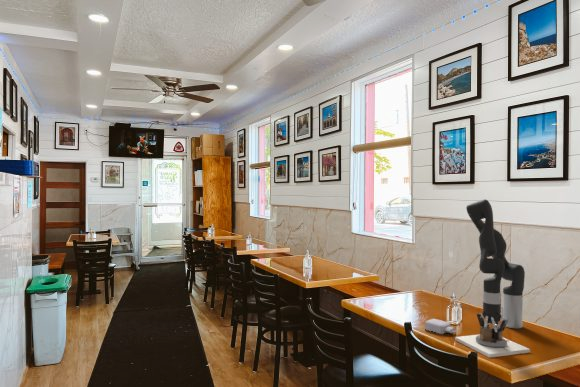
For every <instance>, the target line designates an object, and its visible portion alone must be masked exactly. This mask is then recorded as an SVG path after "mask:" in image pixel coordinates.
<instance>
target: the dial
mask: <svg viewBox="0 0 580 387" xmlns="http://www.w3.org/2000/svg"><path fill="white" fill-rule="evenodd" d="M494 332H495V329H494V327H493V326H489V327H481V326H480V327H479V334H480V335H479V334H477V335H478V336H476V342H477V343H479V344H481V345H483V346H487V347H493V348H503V347H506V346H507V341H506V340H505V339H506V338H505V337H504V335H503V334H504V333H503V332H504V331H502V332H499V339H498V340H495V339H494ZM502 337H503V338H502ZM504 338H505V339H504Z"/></svg>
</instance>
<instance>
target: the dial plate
mask: <svg viewBox="0 0 580 387" xmlns="http://www.w3.org/2000/svg"><path fill="white" fill-rule="evenodd" d="M478 335H480V333H479V334H471V335H462V336H455V337H454V339H455V342H458V343H460V344H461V345H464V346H466V347H468V348H469V349H472V350H473V351H475V352H477V353H479V354H481V355H483V356H485V357H487V358H488V359H489V358H496V357H503V356H511V355H521V354H527V353H529V354H530V353H531V350H530V348H529V347H526V346H524V345H521V344H519V343H516V342H514V341H511V340H510V339H508V338H505V337H504V336H503V337H502V338H504V339H505V340H506V341H507V346H506V347H503V348H493V347H487V346H483V345H481V344H479V343H477V342H476V336H478Z"/></svg>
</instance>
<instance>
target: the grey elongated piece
mask: <svg viewBox="0 0 580 387" xmlns="http://www.w3.org/2000/svg"><path fill="white" fill-rule="evenodd" d="M425 329H426V330H425ZM424 330H425V331H428V330H429V331H428V332H431V331H433V332H432V333H434V332H436V333H435V334H438V333H439V335H444V333H445V334H447V333H449V334H454V333H456V332H458V330H457V329H456V328H455V327H452V326H451V323H450V322H449V321H444V320H441V319H438V318H437V319H436V318H430V319H428V320H426V321H425V322H424Z"/></svg>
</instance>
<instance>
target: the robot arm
mask: <svg viewBox="0 0 580 387" xmlns="http://www.w3.org/2000/svg"><path fill="white" fill-rule="evenodd" d="M465 209H466V212H467V215H468V217H469V219H470V220H471V221H472V223H473V224H474V226H475V228H476V229H477V230H478V232H479V236H478V244H479V249H480V260H479V270H480V272H482V273H483V274H488V275H491V274H493V276H492V277H488V278H484V279H483V291H482V292H483V293H482V313H480V312H479V313H476V317H477V320H478V324H479V326H480V327H490V325H491V324H492V327H494V329H495V332H494V339H495V340H498V339H499V332H502V331H503V332H504V331H505V329H506V328H509V329H510V328H511V329H522V328H523V300H524V299H523V297H524V296H523V294H524V293H523V292H524V290H525V289H524V288H525V278H526V276H525V273H526V272H525V267H523V266H522V265H521V264H515V263H511V262H509V261H508V259H507V258H506V255H505V254H506V251H507V242H506V240H505V238H504V237H503V234H502V233H501V232H500V231H498V229H495V228H494V213H493V207H492V205H491V203H490V201H489V200H487V199H480V200H478V201H477V200H476V201H474V202H472V203H468V204H467V205H466V208H465ZM484 219H485V220H484ZM483 220H484V221H483ZM491 257H492V258H491ZM502 279H503V280H505V281H509V282H511V284H510V286H504V287H503V288H502V296H501V283H502Z"/></svg>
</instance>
